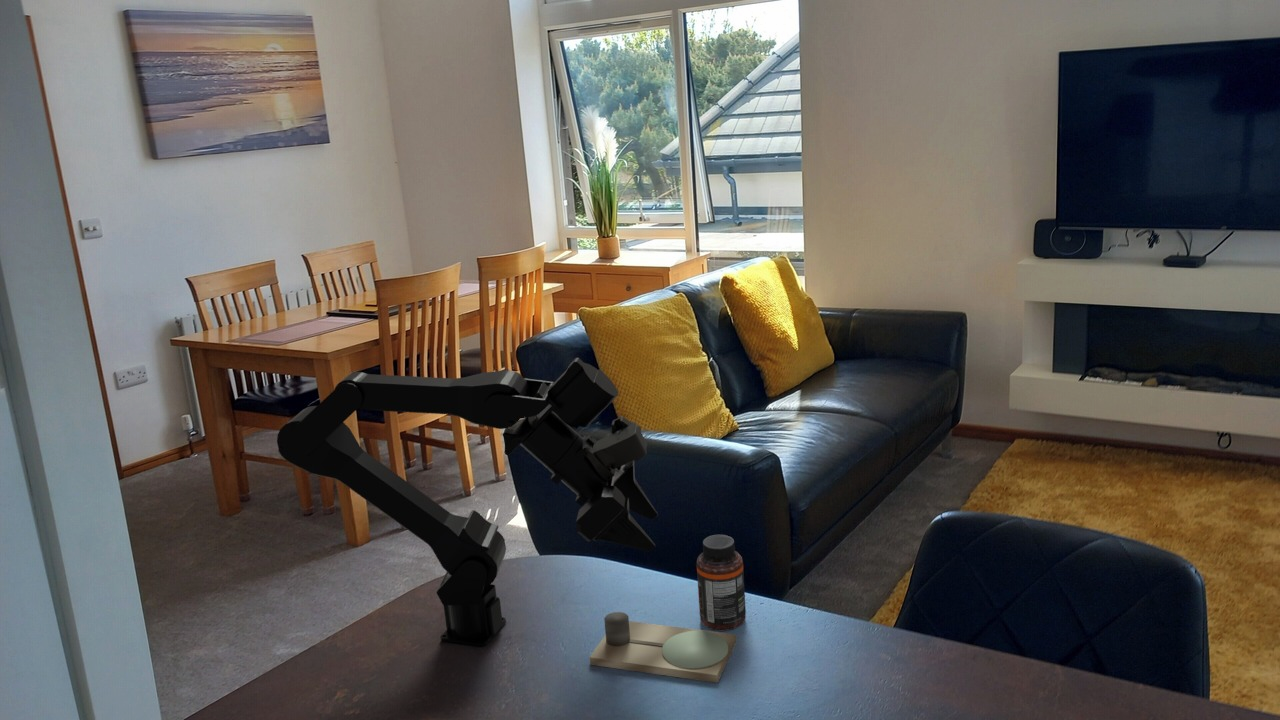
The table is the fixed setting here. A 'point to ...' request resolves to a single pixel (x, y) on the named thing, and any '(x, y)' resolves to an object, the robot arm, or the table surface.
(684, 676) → the board
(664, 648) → the pad
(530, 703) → the table surface
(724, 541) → the supplement bottle
